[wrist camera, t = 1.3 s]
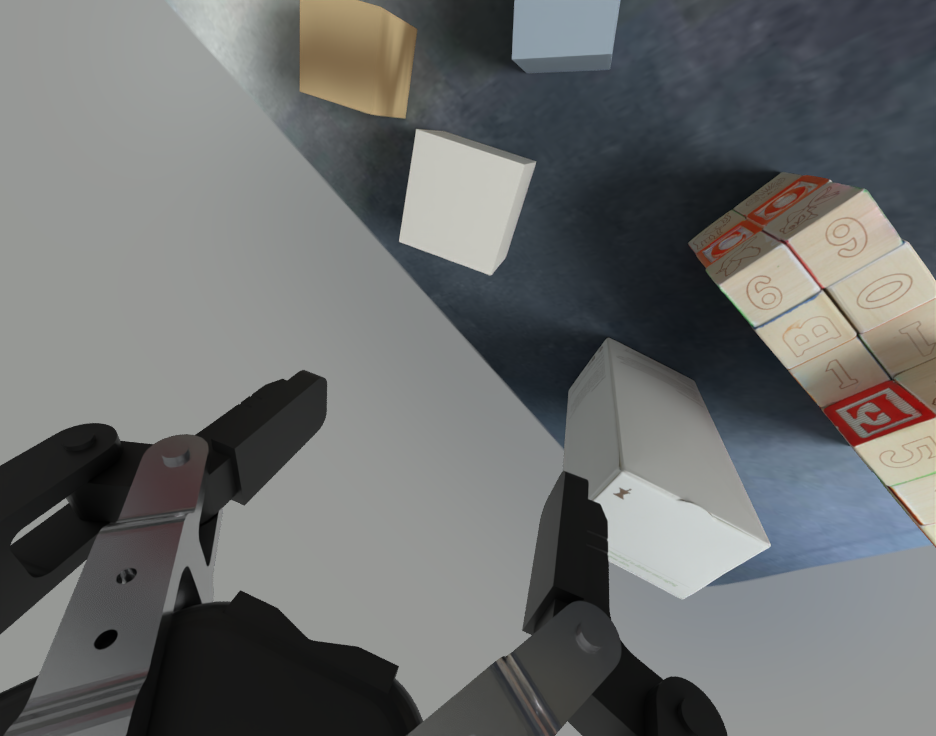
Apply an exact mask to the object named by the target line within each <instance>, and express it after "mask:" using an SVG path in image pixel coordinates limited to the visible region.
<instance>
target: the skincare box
mask: <svg viewBox="0 0 936 736" xmlns="http://www.w3.org/2000/svg"><path fill="white" fill-rule="evenodd" d="M563 471H566V472H569V473H571V474H574V475H577V476H579V477H582V478H585V479H587V480H588V482H589V489H588V499H589V500H592V501H594V502H597V503H600V504H601V506H602V509H603V511H604V514H605V516H606V518H607V521H608V539H607V541H608V561H609V562H611V563H613V564H615V565H617V566H619V567H621V568H623V569H625V570H626V571H628V572H630V573H632V574H634V575H636V576H638V577H640V578H642V579H644V580H646V581H648V582H650V583H652V584H653V585H655V586H657V587H659V588H661V589H663V590H665V591H667V592H669V593H671V594H672V595H674V596H676V597H678V598H680V599H684V598H686V597H688V596H689V595H691V594H693V593H695V592H696V591H698V590H699V589H701V588H703V587H705V586H706V585H708V584H709V583H711V582H712V581H714V580H715V579H717V578H718V577H720V576H721V575H723V574H725V573H726V572H728V571H730V570H731V569H733V568H735V567H736V566H738V565H740V564H742V563H743V562H745V561H747V560H748V559H750V558H752V557H753V556H755V555H757V554H759V553H760V552H762V551H764V550H766V549H767V548H769V547H770V546H771V544H770V542H769V540H768V537H767V535H766V533H765V531H764V529H763V527H762V525H761V523H760V520H759V518H758V516H757V514H756V512H755V510H754V508H753V505H752V503H751V501H750V499H749V497H748V495H747V493H746V491H745V488H744V486H743V484H742V482H741V480H740V478H739V476H738V474H737V471H736V469H735V467H734V465H733V463H732V461H731V459H730V456H729V454H728V452H727V450H726V448H725V446H724V444H723V441H722V439H721V437H720V435H719V433H718V431H717V429H716V426H715V424H714V422H713V420H712V418H711V416H710V414H709V411H708V409H707V407H706V405H705V403H704V401H703V399H702V396H701V394H700V392H699V390H698V388H697V386H696V383H695V381H694V380H692V379H690V378H688V377H686V376H684V375H682V374H680V373H678V372H676V371H674V370H673V369H671V368H669V367H667V366H665V365H663V364H661V363H659V362H657V361H655V360H653V359H651V358H649V357H647V356H645V355H643V354H641V353H639V352H637V351H635V350H633V349H631V348H629V347H627V346H625V345H623V344H621V343H619V342H617V341H615V340H613V339H611V338H607V339H606V340H605V341H604V342H603V344H602V345H601V346H600V348H599V349H598V350H597V352H596V353H595V354H594V356H593V357H592V358H591V360H590V361H589V363H588V364H587V365H586V367H585V368H584V369H583V371H582V372H581V374H580V375H579V376H578V378H577V379H576V381H575V382H574V383H573V385H572V386H571V388H570V389H569V392H568V405H567V419H566V432H565V447H564V461H563Z"/></svg>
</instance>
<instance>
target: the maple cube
mask: <svg viewBox="0 0 936 736" xmlns="http://www.w3.org/2000/svg"><path fill="white" fill-rule="evenodd" d="M416 35H417V29H416V28H414V27H413V26H411V25H410V24H408V23H406V22H405V21H403V20H401V19H400V18H398V17H396V16H395V15H393V14H392V13H390V12H388V11H387V10H385V9H383V8H382V7H379V6H376V5H372V4H369V3H365V2H362V1H358V0H300V92H303V93H306V94H309V95H312V96H315V97H319V98H322V99H325V100H328V101H331V102H334V103H337V104H340V105H343V106H346V107H349V108H352V109H356V110H359V111H362V112H365V113H368V114H371V115H379V116H387V117H396V118H404V119H405V117H406V109H407V102H408V94H409V87H410V80H411V72H412V65H413V57H414V50H415V42H416Z"/></svg>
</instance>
